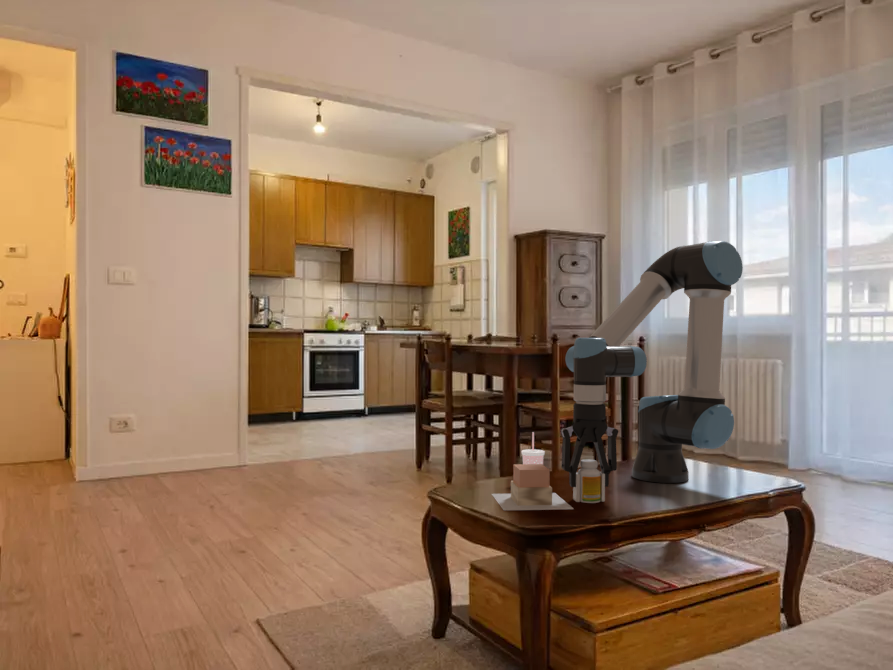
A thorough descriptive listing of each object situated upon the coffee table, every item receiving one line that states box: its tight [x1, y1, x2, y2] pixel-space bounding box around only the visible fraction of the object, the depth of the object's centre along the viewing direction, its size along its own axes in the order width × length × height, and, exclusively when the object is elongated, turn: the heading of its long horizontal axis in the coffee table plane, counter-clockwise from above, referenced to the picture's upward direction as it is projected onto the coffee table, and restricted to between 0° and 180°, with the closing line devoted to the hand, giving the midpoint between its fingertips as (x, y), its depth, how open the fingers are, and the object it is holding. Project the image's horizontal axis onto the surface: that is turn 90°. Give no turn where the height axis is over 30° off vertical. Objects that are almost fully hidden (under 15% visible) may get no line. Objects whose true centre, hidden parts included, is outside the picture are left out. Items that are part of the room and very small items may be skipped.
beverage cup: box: [521, 431, 546, 465], centre depth 177 cm, size 6×6×14 cm
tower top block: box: [512, 463, 551, 487], centre depth 157 cm, size 7×7×4 cm
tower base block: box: [510, 480, 553, 506], centre depth 157 cm, size 8×8×4 cm
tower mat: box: [491, 492, 575, 511], centre depth 157 cm, size 16×16×1 cm
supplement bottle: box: [577, 459, 602, 504], centre depth 159 cm, size 5×5×10 cm
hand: (588, 500), depth 159 cm, fingers closed on supplement bottle, 5 cm apart
